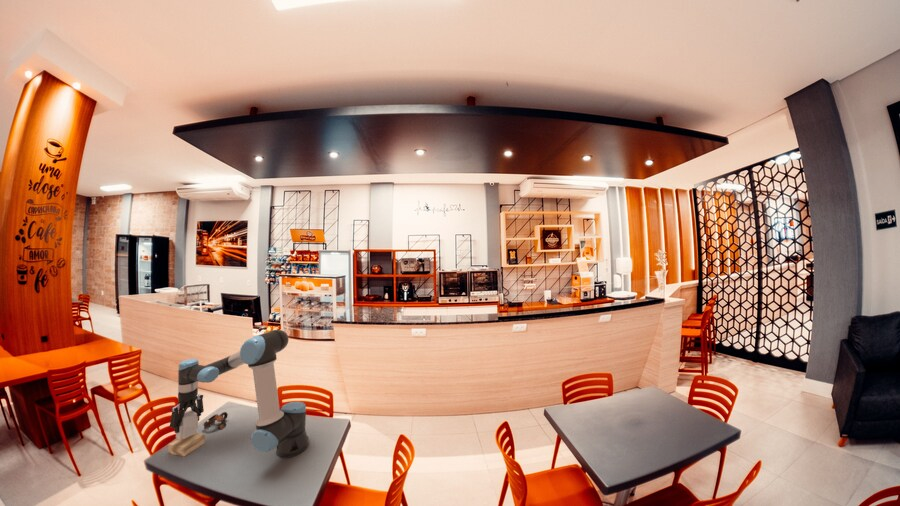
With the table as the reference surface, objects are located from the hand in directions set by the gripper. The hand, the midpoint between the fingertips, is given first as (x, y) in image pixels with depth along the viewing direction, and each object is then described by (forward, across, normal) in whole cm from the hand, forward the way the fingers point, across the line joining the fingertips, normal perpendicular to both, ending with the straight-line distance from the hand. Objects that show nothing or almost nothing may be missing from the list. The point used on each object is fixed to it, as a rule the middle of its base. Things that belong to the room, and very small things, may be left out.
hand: (187, 432), depth 145 cm
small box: (0, 0, 0) cm, 0 cm away
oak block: (+8, 0, 0) cm, 8 cm away
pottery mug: (+8, -17, -2) cm, 19 cm away
